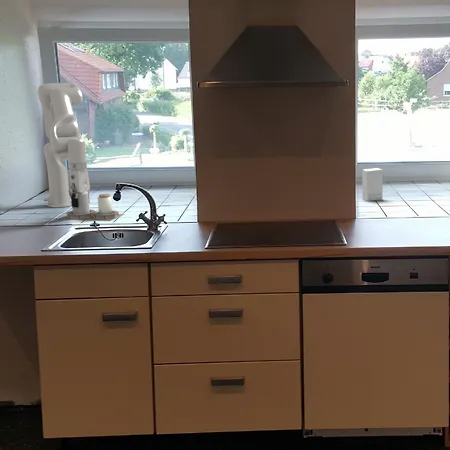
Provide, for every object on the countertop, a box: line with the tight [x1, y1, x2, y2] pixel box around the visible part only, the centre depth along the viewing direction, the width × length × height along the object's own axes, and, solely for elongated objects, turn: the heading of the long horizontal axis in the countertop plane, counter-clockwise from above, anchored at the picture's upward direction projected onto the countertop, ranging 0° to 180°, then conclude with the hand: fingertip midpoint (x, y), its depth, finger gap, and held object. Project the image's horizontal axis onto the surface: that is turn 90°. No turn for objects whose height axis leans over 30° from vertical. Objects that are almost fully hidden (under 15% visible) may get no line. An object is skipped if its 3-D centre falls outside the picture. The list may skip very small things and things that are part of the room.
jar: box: [97, 193, 114, 214], centre depth 291 cm, size 6×6×10 cm
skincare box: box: [361, 167, 384, 202], centre depth 320 cm, size 8×6×15 cm
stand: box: [59, 208, 125, 222], centre depth 294 cm, size 25×15×3 cm, turn 73°
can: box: [71, 190, 90, 214], centre depth 295 cm, size 8×8×12 cm
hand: (80, 205), depth 295 cm, fingers open, 9 cm apart
